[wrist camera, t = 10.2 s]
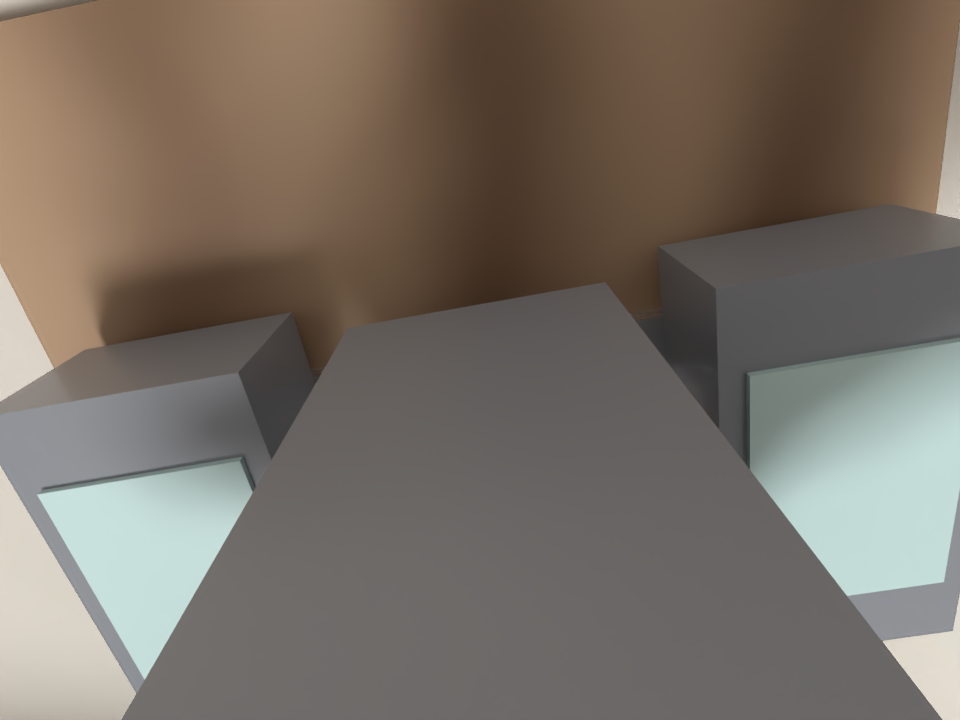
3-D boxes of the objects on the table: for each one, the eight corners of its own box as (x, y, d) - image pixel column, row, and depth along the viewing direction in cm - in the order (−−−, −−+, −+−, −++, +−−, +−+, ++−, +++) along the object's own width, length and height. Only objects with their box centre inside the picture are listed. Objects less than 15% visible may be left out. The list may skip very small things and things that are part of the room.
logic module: (605, 282, 10) (1334, 1229, 2) (639, 625, 13) (943, 1562, 5) (347, 327, 10) (-235, 1341, 2) (441, 653, 13) (388, 1584, 5)
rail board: (940, -167, 10) (1272, -362, 6) (857, 646, 18) (977, 811, 14) (-65, 50, 11) (-386, 15, 7) (265, 727, 19) (206, 904, 15)
